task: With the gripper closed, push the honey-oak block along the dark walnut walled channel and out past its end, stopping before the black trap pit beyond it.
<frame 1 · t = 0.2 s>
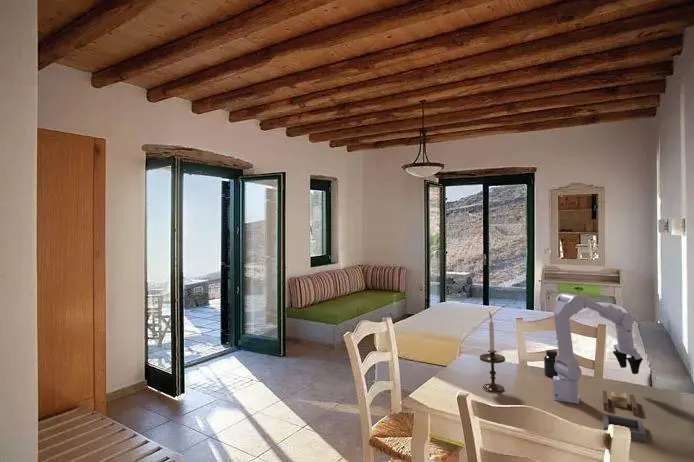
hand: (629, 370, 179), 10 cm above the table, tool pointing down, fingers open, 7 cm apart
walnut channel: (619, 406, 167), on the table
trap pit: (623, 430, 147), on the table
candlestick: (493, 389, 188), on the table
supplement bottle: (552, 376, 203), on the table
oak block: (619, 404, 168), on the table
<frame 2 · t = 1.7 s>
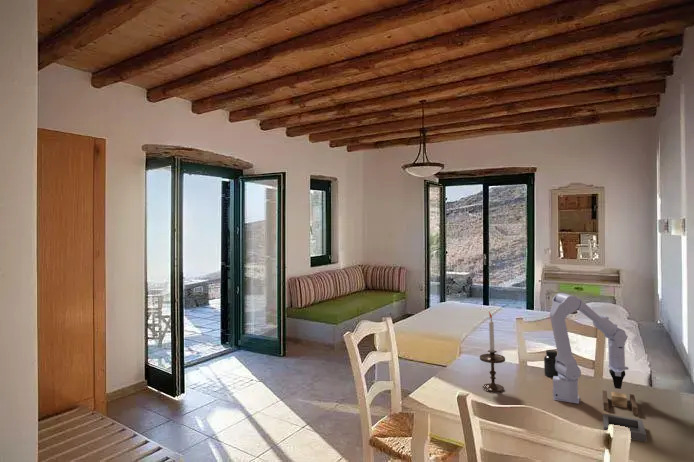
hand: (617, 388, 175), 4 cm above the table, tool pointing down, fingers closed
nothing on the table moved.
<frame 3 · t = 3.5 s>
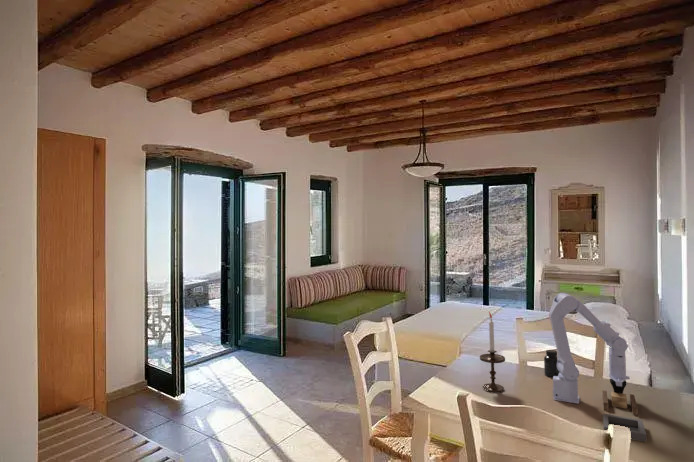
hand: (618, 398, 171), 1 cm above the table, tool pointing down, fingers closed
oak block: (619, 405, 168), on the table, touching gripper
everything else where it was.
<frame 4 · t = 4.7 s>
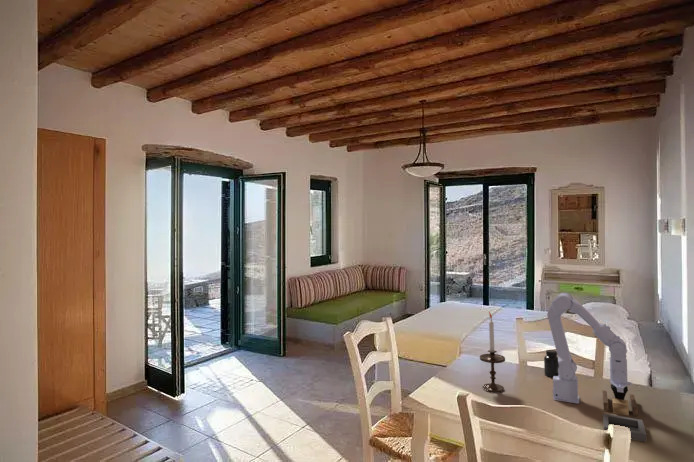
hand: (619, 404, 165), 1 cm above the table, tool pointing down, fingers closed
oak block: (620, 411, 162), on the table, touching gripper
everything else where it was.
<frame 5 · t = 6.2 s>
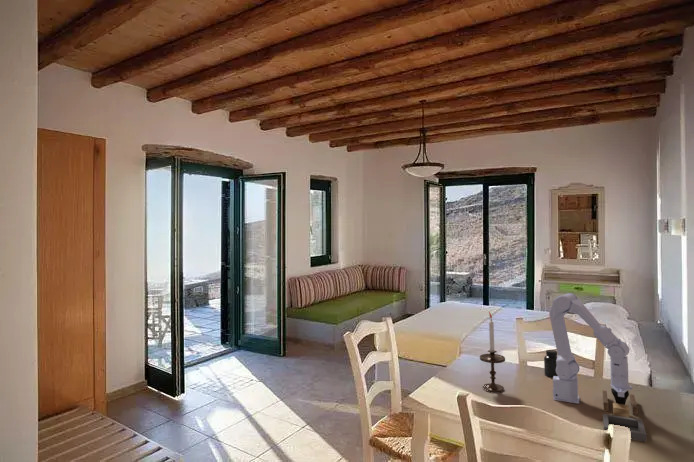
hand: (620, 409, 161), 1 cm above the table, tool pointing down, fingers closed
oak block: (621, 416, 157), on the table, touching gripper
everything else where it was.
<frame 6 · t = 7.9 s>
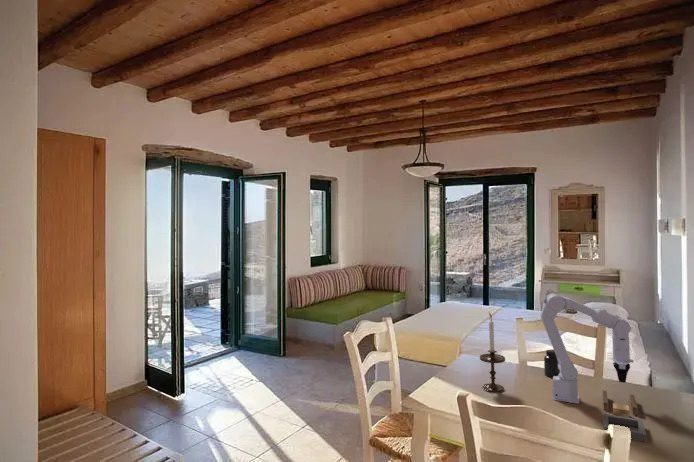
hand: (622, 381, 168), 9 cm above the table, tool pointing down, fingers closed
oak block: (621, 417, 157), on the table
everything else where it was.
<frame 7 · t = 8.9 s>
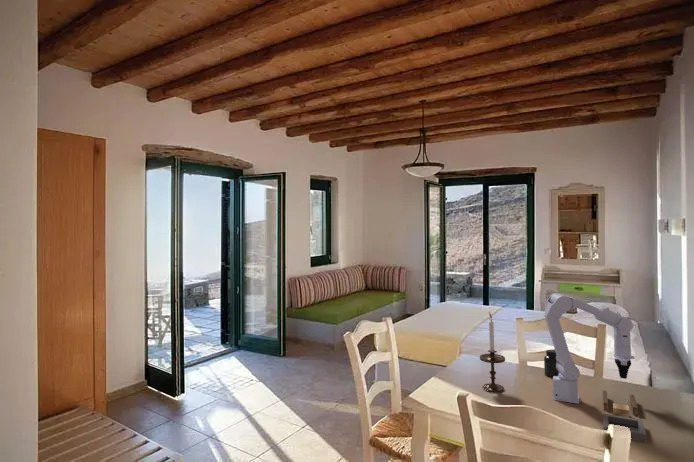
hand: (623, 377, 172), 9 cm above the table, tool pointing down, fingers closed
nothing on the table moved.
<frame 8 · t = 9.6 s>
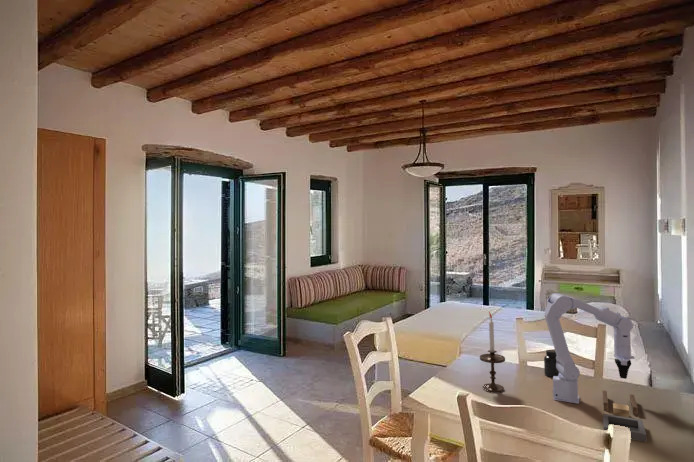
hand: (623, 377, 172), 9 cm above the table, tool pointing down, fingers closed
nothing on the table moved.
at the end: oak block 0.8 cm from the target spot, on the table; oak block touching table; oak block tilted 0° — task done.
